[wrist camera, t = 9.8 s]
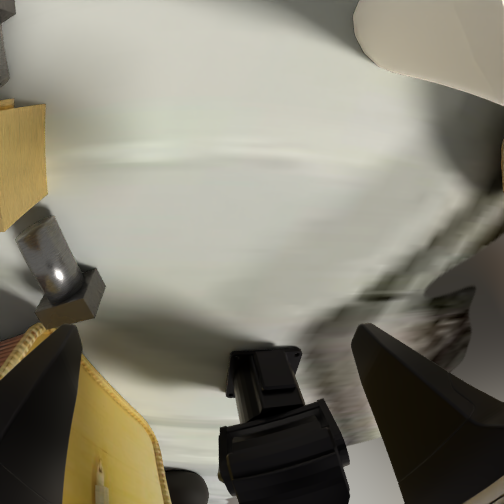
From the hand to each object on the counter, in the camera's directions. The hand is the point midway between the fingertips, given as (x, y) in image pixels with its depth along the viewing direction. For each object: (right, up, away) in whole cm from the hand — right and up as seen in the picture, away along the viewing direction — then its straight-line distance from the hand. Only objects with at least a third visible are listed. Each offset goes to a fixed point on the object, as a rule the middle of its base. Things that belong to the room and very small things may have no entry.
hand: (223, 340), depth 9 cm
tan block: (-14, +9, +6) cm, 18 cm away
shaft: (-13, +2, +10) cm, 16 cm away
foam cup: (+10, +18, +7) cm, 22 cm away
